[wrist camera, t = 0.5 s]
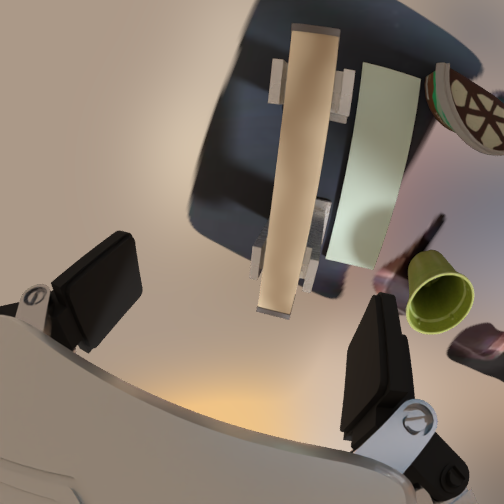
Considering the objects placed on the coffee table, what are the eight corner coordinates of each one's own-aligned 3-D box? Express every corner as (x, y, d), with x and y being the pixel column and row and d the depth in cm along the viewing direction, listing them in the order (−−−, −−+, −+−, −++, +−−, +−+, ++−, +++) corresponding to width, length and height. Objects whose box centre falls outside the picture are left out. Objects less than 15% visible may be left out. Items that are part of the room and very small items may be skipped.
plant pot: (384, 277, 37) (391, 318, 30) (421, 225, 32) (440, 259, 24) (428, 302, 36) (439, 342, 29) (465, 257, 31) (486, 293, 24)
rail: (339, 39, 16) (340, 29, 13) (294, 298, 29) (289, 319, 27) (297, 33, 17) (291, 23, 14) (264, 291, 30) (256, 311, 27)
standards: (352, 76, 25) (363, 57, 15) (322, 242, 37) (312, 303, 26) (292, 66, 27) (267, 44, 16) (271, 231, 38) (243, 286, 28)
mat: (419, 79, 23) (420, 79, 22) (373, 267, 37) (373, 269, 36) (362, 62, 24) (363, 62, 24) (325, 256, 38) (325, 258, 37)
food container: (402, 116, 26) (428, 120, 18) (414, 71, 23) (444, 60, 14) (481, 159, 24) (521, 181, 16) (493, 118, 21) (537, 129, 13)
